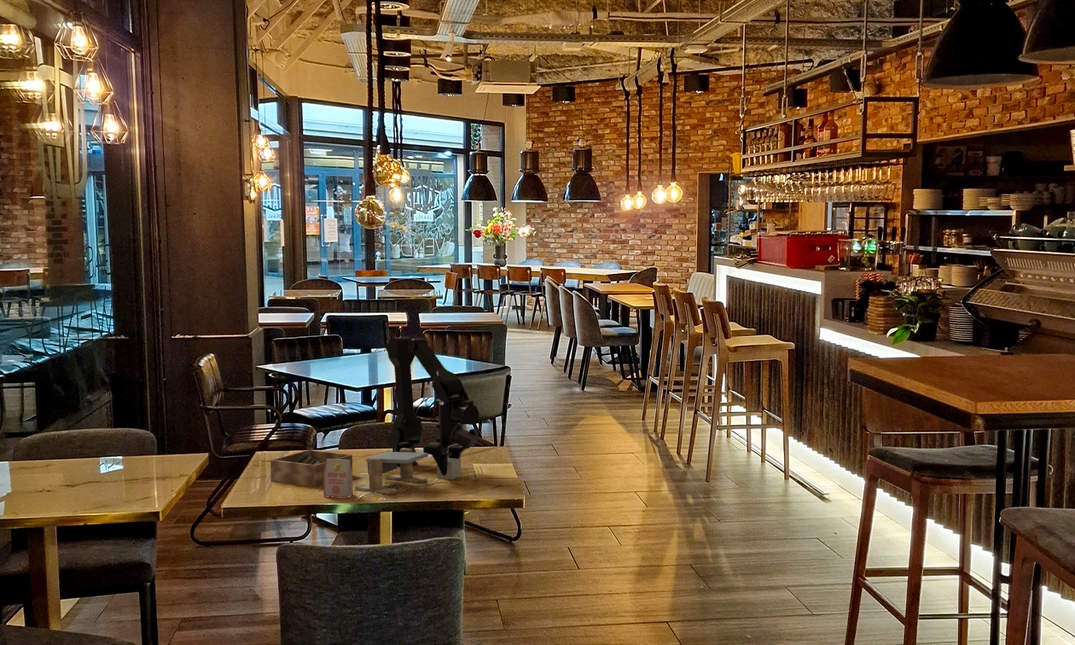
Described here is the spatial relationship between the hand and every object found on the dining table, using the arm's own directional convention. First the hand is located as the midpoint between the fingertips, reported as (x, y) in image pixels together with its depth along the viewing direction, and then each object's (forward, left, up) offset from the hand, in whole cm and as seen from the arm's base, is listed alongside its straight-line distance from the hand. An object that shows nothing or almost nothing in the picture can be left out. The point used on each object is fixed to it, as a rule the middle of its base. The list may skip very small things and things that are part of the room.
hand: (449, 473), depth 273 cm
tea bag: (-15, -32, -1) cm, 35 cm away
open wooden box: (-35, -19, -1) cm, 40 cm away
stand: (-9, -16, -1) cm, 18 cm away
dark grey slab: (-7, -16, +3) cm, 18 cm away
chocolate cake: (-38, -19, -2) cm, 43 cm away
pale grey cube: (0, 0, -1) cm, 1 cm away
